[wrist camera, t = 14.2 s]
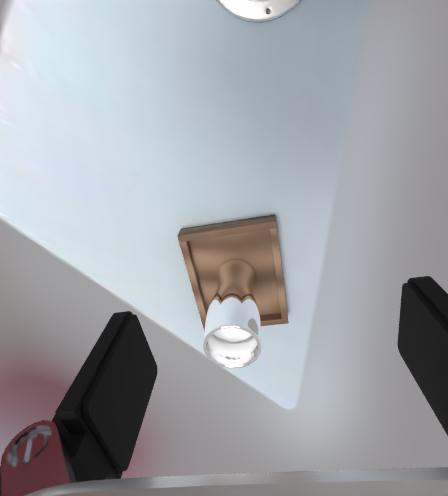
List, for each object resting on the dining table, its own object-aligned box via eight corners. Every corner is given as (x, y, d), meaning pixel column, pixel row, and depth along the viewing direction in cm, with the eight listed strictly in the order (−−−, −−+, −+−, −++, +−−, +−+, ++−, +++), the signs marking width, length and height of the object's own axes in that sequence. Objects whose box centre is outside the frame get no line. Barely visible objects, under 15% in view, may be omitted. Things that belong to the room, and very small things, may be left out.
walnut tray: (180, 229, 46) (177, 236, 44) (274, 214, 44) (275, 221, 42) (206, 321, 54) (204, 331, 52) (286, 313, 52) (288, 323, 50)
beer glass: (204, 278, 49) (189, 350, 35) (231, 248, 46) (225, 314, 33) (239, 301, 50) (237, 378, 37) (267, 273, 48) (275, 345, 34)
